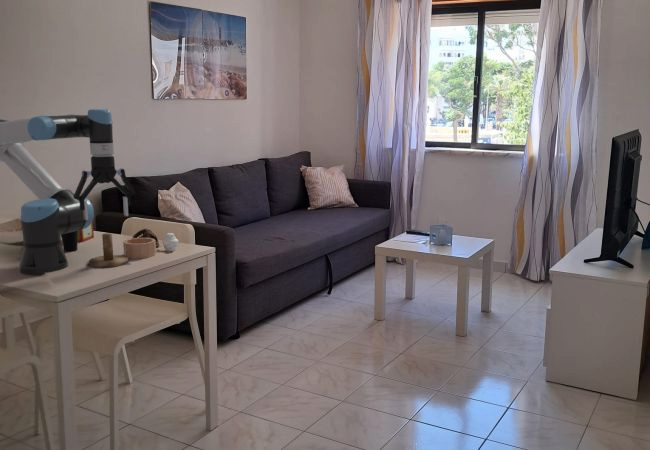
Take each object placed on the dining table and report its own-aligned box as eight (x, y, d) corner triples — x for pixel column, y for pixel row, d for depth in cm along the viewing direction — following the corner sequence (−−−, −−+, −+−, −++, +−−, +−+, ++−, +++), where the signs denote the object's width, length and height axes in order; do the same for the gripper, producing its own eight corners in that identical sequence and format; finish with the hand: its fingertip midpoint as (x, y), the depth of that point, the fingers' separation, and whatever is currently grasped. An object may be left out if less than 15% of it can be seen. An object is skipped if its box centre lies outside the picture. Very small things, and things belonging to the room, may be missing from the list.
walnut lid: (94, 269, 222) (92, 239, 220) (84, 261, 233) (83, 233, 231) (133, 264, 229) (131, 235, 227) (122, 256, 240) (120, 229, 238)
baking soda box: (82, 242, 267) (79, 203, 264) (67, 241, 268) (64, 202, 265) (93, 237, 276) (91, 199, 273) (79, 236, 277) (76, 199, 274)
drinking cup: (56, 250, 254) (52, 198, 250) (76, 247, 259) (72, 196, 255) (64, 253, 248) (60, 200, 244) (84, 250, 253) (80, 198, 249)
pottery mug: (160, 250, 255) (148, 233, 252) (138, 261, 256) (127, 244, 253) (163, 236, 266) (152, 220, 262) (142, 246, 267) (131, 230, 263)
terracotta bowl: (129, 262, 235) (129, 245, 234) (120, 255, 244) (119, 239, 243) (160, 258, 241) (159, 241, 240) (150, 252, 250) (149, 236, 249)
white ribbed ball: (162, 249, 255) (161, 231, 254) (178, 248, 257) (177, 230, 256) (162, 252, 249) (161, 234, 248) (179, 251, 251) (178, 233, 250)
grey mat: (95, 271, 223) (95, 268, 223) (86, 263, 233) (86, 261, 233) (131, 266, 229) (131, 264, 229) (121, 259, 239) (121, 257, 239)
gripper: (66, 158, 214) (71, 222, 218) (142, 154, 227) (145, 215, 231) (61, 156, 220) (65, 219, 224) (135, 153, 234) (138, 212, 238)
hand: (106, 217), depth 228 cm, fingers open, 13 cm apart
